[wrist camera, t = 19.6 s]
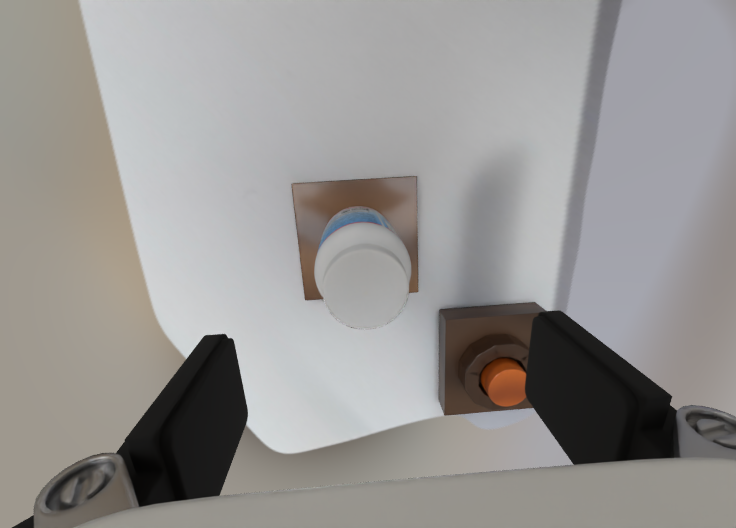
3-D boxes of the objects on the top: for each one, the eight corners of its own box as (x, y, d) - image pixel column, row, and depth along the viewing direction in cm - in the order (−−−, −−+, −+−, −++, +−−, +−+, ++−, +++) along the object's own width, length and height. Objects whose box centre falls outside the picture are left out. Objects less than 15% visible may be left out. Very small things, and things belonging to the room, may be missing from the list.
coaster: (292, 183, 28) (291, 183, 27) (415, 176, 28) (416, 176, 28) (305, 298, 31) (305, 300, 30) (417, 290, 31) (418, 292, 31)
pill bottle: (312, 262, 29) (291, 322, 18) (337, 194, 28) (330, 217, 17) (378, 285, 30) (395, 356, 19) (406, 221, 29) (441, 259, 18)
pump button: (481, 359, 29) (489, 371, 28) (522, 355, 29) (533, 367, 28) (479, 394, 30) (487, 408, 29) (519, 391, 30) (529, 404, 29)
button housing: (439, 309, 32) (451, 330, 28) (535, 302, 32) (560, 321, 28) (438, 400, 35) (449, 430, 31) (526, 392, 35) (548, 421, 31)
